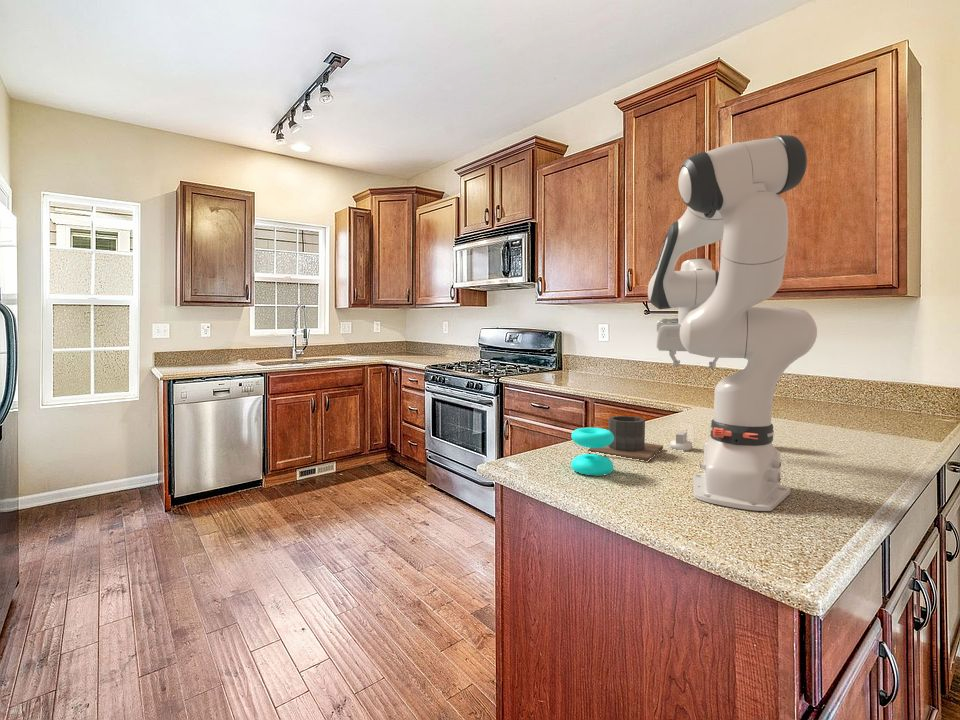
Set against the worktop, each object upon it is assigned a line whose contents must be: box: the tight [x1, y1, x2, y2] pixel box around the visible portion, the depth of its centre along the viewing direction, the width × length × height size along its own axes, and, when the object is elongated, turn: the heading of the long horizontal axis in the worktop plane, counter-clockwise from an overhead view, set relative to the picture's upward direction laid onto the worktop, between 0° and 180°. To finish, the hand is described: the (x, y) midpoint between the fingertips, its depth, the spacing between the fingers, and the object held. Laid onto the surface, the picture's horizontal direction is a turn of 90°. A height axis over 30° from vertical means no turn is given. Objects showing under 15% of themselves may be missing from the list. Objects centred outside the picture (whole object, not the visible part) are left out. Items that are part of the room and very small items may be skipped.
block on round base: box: [669, 430, 693, 452], centre depth 142 cm, size 6×6×5 cm
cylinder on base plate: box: [587, 415, 664, 462], centre depth 138 cm, size 16×16×9 cm
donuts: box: [570, 426, 614, 476], centre depth 120 cm, size 10×10×10 cm
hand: (694, 367), depth 140 cm, fingers open, 8 cm apart
